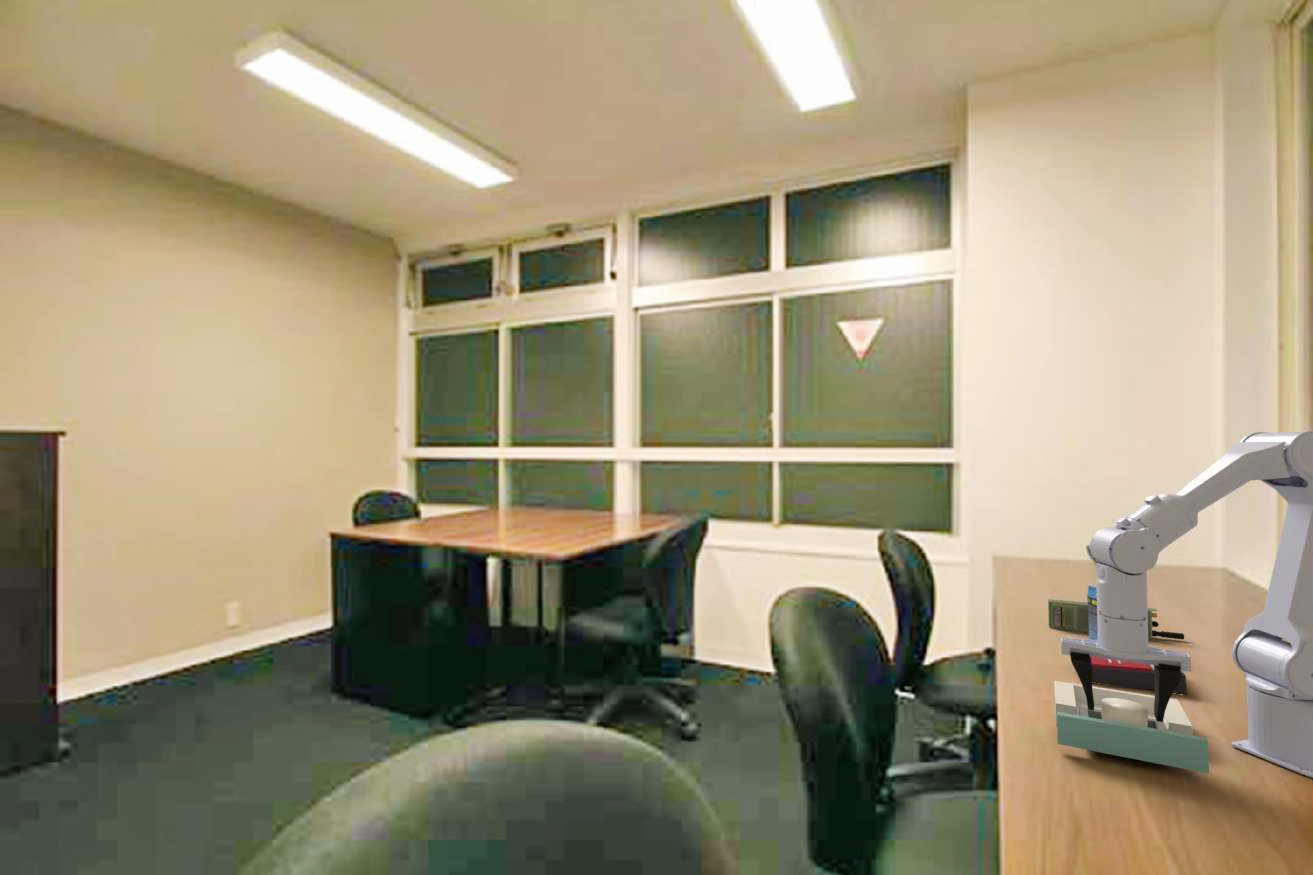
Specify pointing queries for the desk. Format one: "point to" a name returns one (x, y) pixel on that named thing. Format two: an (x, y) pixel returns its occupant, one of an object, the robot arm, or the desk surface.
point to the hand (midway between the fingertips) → (1123, 713)
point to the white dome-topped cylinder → (1124, 711)
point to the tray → (1133, 740)
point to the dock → (1074, 696)
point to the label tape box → (1092, 612)
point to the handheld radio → (1076, 618)
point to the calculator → (1128, 674)
